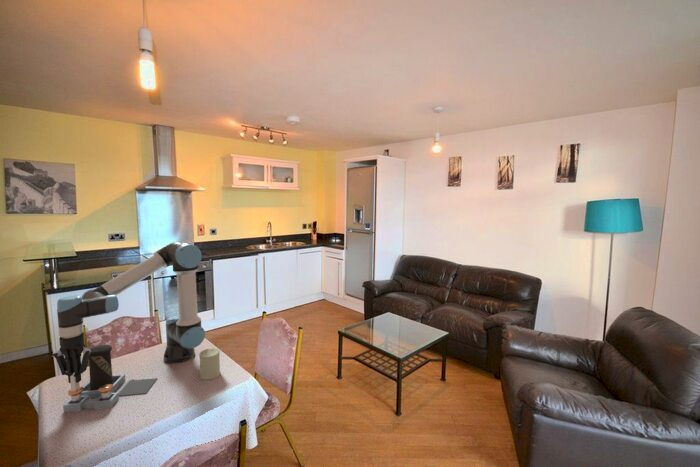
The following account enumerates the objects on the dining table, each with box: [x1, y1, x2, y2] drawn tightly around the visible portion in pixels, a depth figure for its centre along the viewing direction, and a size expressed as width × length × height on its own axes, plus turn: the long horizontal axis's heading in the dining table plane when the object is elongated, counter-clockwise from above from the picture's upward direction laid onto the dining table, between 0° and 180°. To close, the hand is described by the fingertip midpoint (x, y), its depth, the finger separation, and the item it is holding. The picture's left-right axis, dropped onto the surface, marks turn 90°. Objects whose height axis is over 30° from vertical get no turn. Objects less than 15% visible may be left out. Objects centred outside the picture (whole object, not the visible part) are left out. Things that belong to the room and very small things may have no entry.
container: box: [88, 344, 114, 391], centre depth 141 cm, size 9×9×20 cm
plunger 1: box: [67, 386, 84, 403], centre depth 129 cm, size 5×5×6 cm
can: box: [199, 347, 221, 381], centre depth 155 cm, size 9×9×12 cm
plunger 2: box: [99, 384, 113, 401], centre depth 132 cm, size 5×5×6 cm
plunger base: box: [62, 391, 120, 413], centre depth 131 cm, size 17×6×3 cm, turn 101°
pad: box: [118, 377, 158, 397], centre depth 144 cm, size 12×12×1 cm
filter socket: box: [81, 373, 126, 399], centre depth 142 cm, size 13×13×3 cm
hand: (75, 389), depth 129 cm, fingers closed
